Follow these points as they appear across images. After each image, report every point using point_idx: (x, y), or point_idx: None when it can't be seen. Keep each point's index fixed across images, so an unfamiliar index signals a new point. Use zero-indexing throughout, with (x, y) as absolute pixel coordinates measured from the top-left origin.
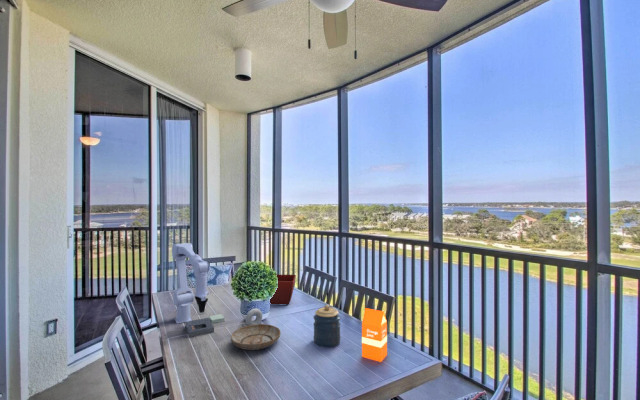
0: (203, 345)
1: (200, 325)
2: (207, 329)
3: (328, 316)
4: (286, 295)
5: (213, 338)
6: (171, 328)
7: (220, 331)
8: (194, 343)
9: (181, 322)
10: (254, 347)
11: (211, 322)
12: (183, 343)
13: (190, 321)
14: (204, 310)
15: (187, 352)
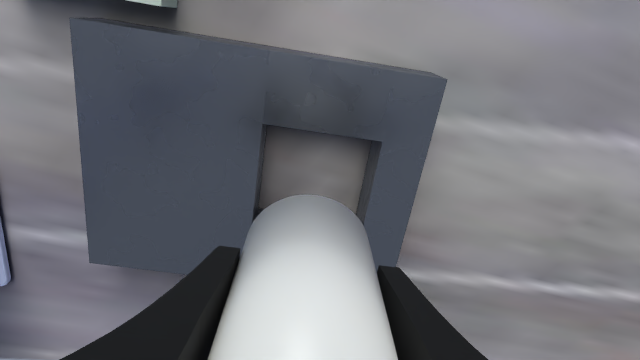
0: (607, 230)
1: (258, 166)
2: (425, 147)
3: None
4: None
5: (557, 127)
6: (105, 325)
7: (459, 6)
8: (518, 268)
9: (4, 249)
10: None
11: (167, 6)
12: (455, 321)
13: (106, 225)
14: (371, 259)
15: (609, 332)
